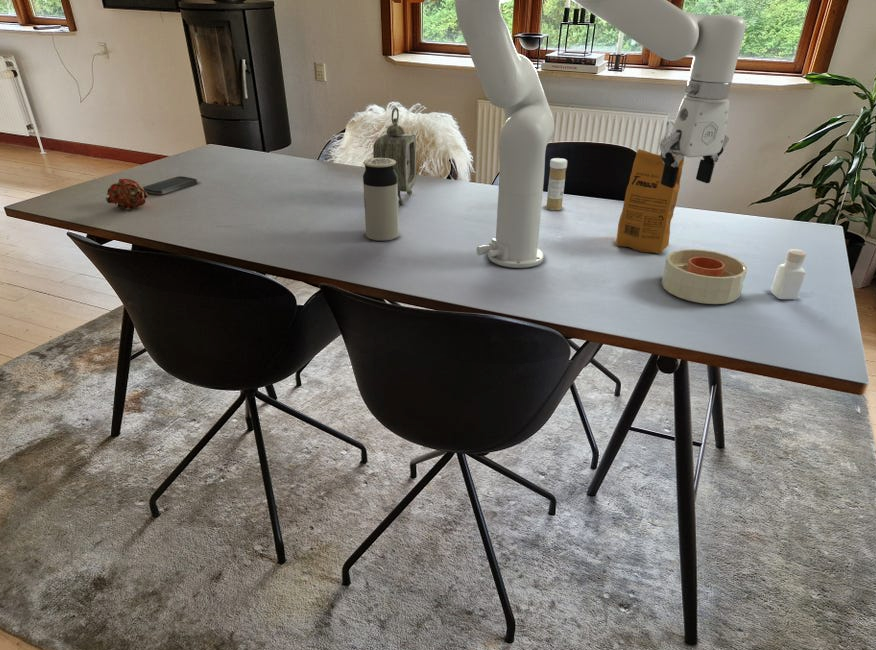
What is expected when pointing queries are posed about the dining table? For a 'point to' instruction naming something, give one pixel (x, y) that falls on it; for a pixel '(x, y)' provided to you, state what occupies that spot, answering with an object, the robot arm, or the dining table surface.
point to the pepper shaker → (789, 276)
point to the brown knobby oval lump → (126, 194)
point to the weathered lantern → (399, 154)
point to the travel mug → (380, 199)
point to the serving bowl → (703, 278)
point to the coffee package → (647, 205)
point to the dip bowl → (705, 266)
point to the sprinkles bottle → (556, 183)
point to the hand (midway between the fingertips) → (685, 183)
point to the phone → (169, 185)
